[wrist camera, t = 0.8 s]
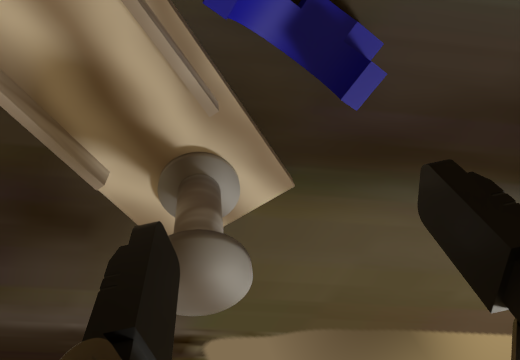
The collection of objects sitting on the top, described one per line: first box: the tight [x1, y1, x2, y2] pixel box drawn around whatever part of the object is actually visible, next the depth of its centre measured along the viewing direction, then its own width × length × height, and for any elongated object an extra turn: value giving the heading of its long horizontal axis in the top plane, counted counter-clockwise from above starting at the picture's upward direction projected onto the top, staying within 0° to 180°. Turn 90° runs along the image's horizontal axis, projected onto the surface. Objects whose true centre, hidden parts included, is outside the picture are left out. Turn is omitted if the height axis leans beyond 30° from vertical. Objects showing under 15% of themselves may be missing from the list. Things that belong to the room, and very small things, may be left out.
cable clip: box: [203, 0, 387, 111], centre depth 23 cm, size 12×4×6 cm, turn 55°
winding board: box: [0, 0, 295, 316], centre depth 23 cm, size 14×27×12 cm, turn 31°
